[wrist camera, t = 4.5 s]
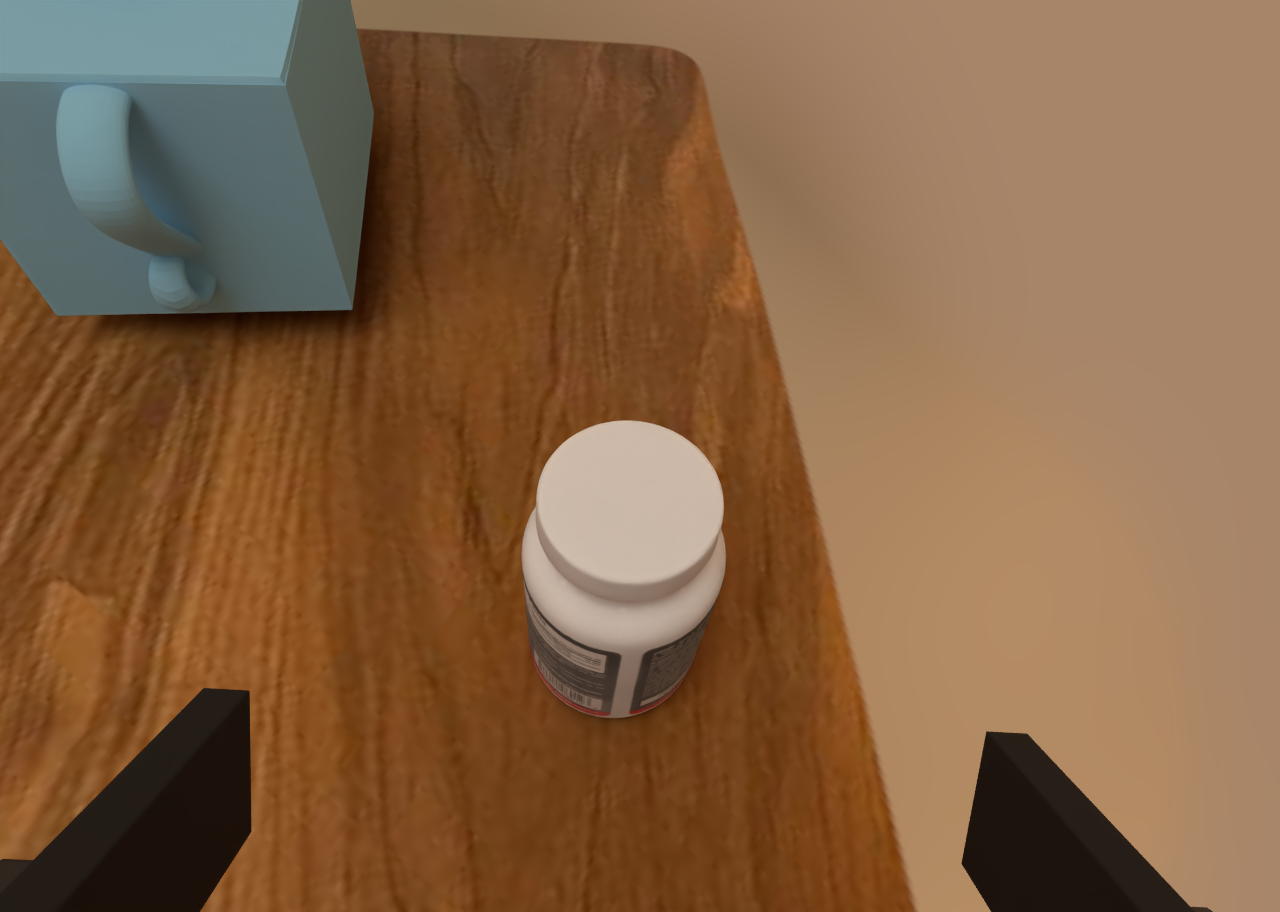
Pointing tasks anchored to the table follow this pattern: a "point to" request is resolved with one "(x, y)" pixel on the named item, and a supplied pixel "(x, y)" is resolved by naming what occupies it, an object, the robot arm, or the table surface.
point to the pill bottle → (622, 566)
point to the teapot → (184, 153)
